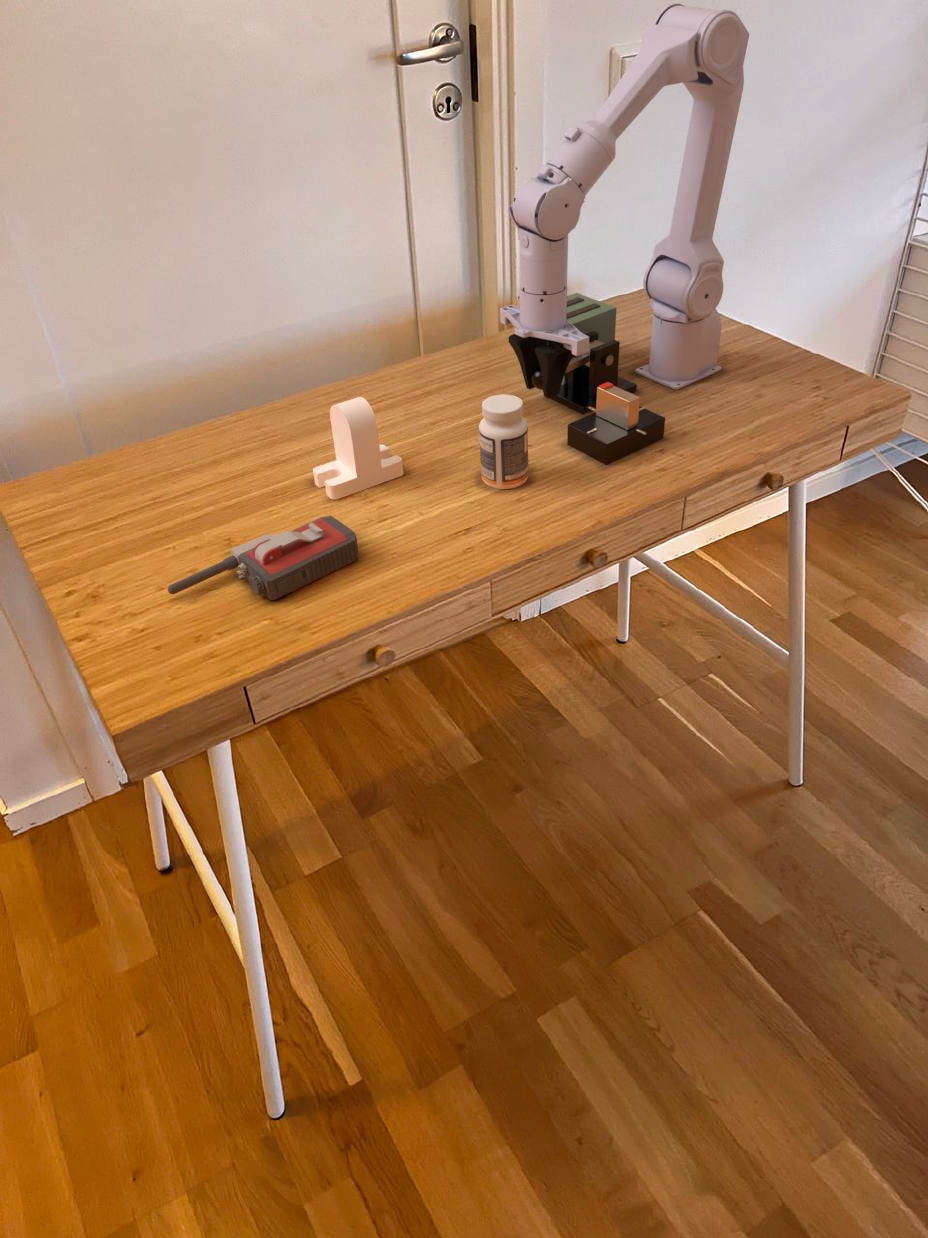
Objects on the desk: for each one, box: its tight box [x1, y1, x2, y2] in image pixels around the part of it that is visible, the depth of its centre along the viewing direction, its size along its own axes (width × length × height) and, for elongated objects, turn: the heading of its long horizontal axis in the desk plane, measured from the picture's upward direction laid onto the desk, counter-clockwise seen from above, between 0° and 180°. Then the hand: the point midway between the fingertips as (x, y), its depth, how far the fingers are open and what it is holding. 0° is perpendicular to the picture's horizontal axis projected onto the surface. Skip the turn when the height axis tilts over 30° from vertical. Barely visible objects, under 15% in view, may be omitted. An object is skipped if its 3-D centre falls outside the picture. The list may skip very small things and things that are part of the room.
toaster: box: [547, 292, 617, 385], centre depth 135 cm, size 10×8×9 cm
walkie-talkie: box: [167, 515, 360, 601], centre depth 100 cm, size 9×4×20 cm
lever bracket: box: [549, 331, 638, 416], centre depth 129 cm, size 10×7×8 cm
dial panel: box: [566, 405, 666, 466], centre depth 120 cm, size 10×10×3 cm
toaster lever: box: [531, 340, 605, 391], centre depth 125 cm, size 12×3×3 cm, turn 128°
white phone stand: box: [312, 396, 404, 501], centre depth 113 cm, size 5×10×10 cm, turn 123°
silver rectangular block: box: [596, 382, 641, 430], centre depth 117 cm, size 6×2×4 cm, turn 39°
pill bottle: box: [478, 393, 529, 490], centre depth 112 cm, size 6×6×10 cm
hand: (542, 390), depth 125 cm, fingers closed on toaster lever, 3 cm apart
